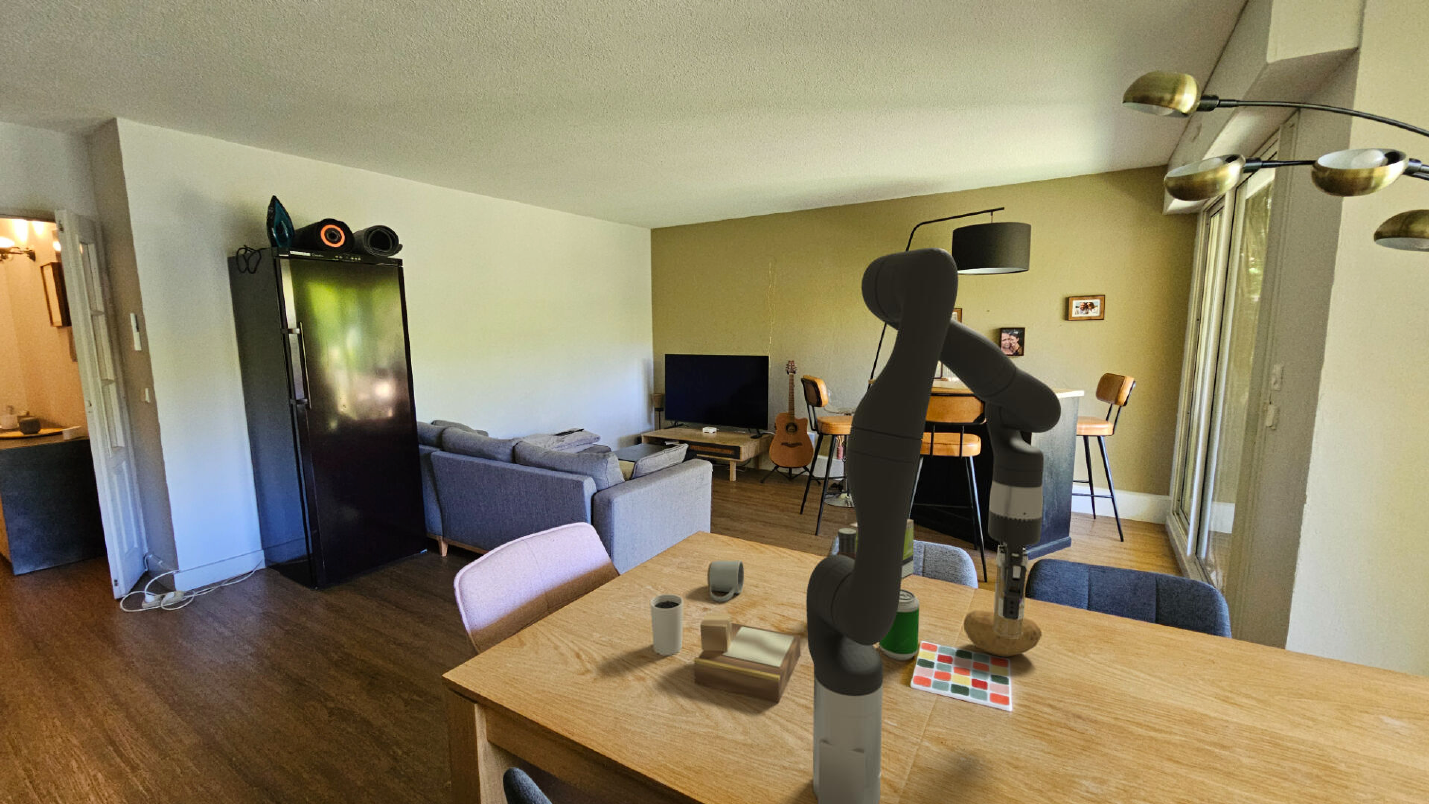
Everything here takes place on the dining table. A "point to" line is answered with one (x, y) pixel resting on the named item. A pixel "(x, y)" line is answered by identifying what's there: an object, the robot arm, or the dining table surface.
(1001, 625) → the sprinkles bottle
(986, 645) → the potato
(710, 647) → the wooden cube
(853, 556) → the sauce bottle
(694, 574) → the dining table surface
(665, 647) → the white cup
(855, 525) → the tea box
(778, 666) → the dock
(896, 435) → the robot arm
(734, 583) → the ceramic mug
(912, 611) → the soda can
